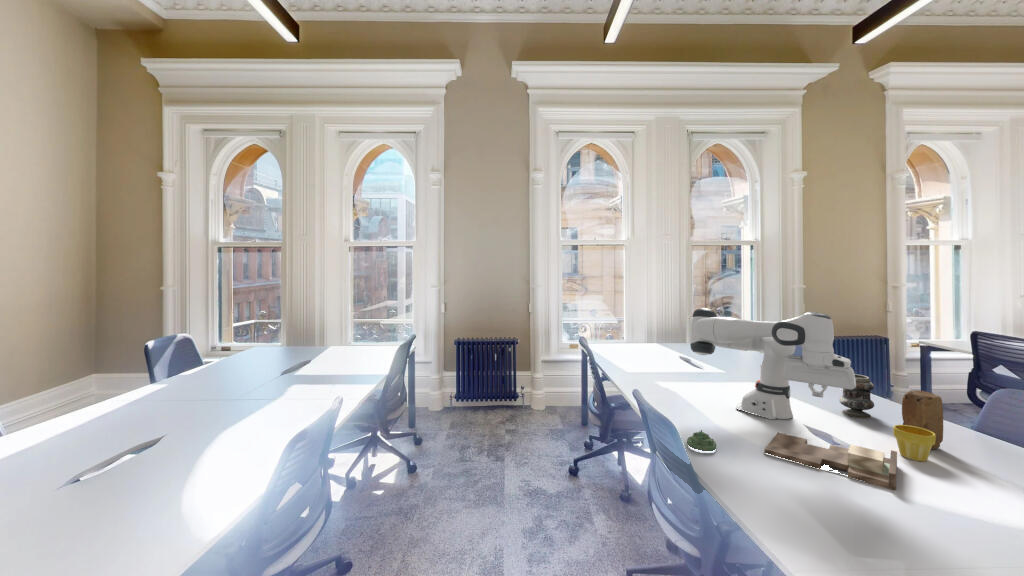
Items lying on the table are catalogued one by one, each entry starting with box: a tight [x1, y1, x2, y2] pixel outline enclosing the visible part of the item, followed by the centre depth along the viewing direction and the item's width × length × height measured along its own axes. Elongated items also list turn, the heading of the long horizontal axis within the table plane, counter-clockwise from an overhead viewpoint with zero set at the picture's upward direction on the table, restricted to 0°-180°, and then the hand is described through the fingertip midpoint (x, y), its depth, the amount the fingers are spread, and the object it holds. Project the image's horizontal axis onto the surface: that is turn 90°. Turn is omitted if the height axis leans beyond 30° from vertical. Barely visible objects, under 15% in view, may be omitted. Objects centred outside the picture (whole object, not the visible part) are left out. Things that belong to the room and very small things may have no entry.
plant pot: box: [892, 424, 936, 462], centre depth 136 cm, size 10×10×10 cm
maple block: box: [847, 444, 885, 473], centre depth 128 cm, size 8×8×4 cm
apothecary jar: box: [838, 373, 875, 419], centre depth 177 cm, size 12×12×18 cm
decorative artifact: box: [686, 429, 717, 451], centre depth 147 cm, size 10×7×10 cm
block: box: [901, 390, 944, 450], centre depth 145 cm, size 11×8×20 cm
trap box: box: [764, 431, 898, 491], centre depth 135 cm, size 34×20×5 cm, turn 44°
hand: (817, 396), depth 137 cm, fingers closed
